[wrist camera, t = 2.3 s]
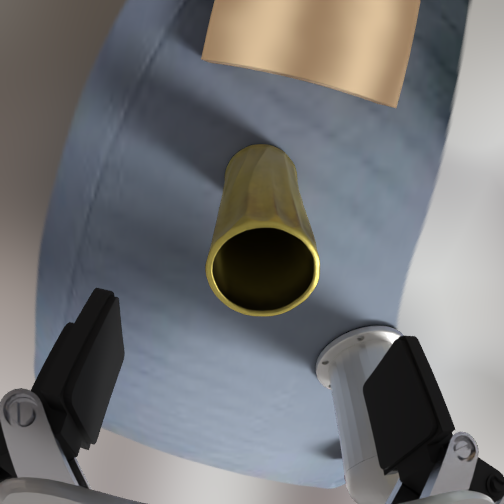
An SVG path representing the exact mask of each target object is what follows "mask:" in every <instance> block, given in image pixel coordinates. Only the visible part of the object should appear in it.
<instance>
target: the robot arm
mask: <svg viewBox="0 0 504 504" xmlns="http://www.w3.org/2000/svg"><path fill="white" fill-rule="evenodd" d="M123 360H124V344H123V336H122V327H121V317H120V307H119V298H118V297H114V293H113V292H112V291H108V290H104V289H99V288H96V289H94V291H93V292H92V294H91V296H90V297H89V299H88V301H87V302H86V304H85V306H84V307H83V309H82V311H81V313H80V314H79V316H78V318H77V320H76V321H75V323H71V322H69V323H68V324H66V326H65V327H64V328H63V330H62V332H61V334H60V336H59V337H58V339H57V341H56V343H55V344H54V346H53V348H52V350H51V352H50V354H49V356H48V357H47V359H46V361H45V363H44V365H43V367H42V369H41V371H40V373H39V375H38V377H37V379H36V381H35V383H34V385H33V387H32V389H31V391H30V390H27V389H22V388H20V389H14V390H12V391H10V392H8V393H7V394H6V395H5V396H4V397H3V398H2V400H1V402H0V504H146V503H141V502H137V501H133V500H128V499H124V498H120V497H117V496H113V495H109V494H106V493H102V492H98V491H94V490H92V489H91V487H90V485H89V484H88V481H87V480H86V478H85V476H84V474H83V472H82V470H81V468H80V466H79V464H78V461H77V459H76V457H77V456H78V453H79V449H80V447H81V448H84V449H87V450H89V447H90V444H95V443H96V441H97V438H98V435H99V432H100V429H101V425H102V422H103V419H104V416H105V413H106V410H107V407H108V404H109V401H110V398H111V395H112V392H113V389H114V386H115V383H116V380H117V377H118V374H119V371H120V369H121V366H122V363H123ZM316 374H317V378H318V380H319V382H320V383H321V384H322V385H323V386H325V387H326V388H328V389H331V390H332V396H333V402H334V408H335V414H336V420H337V426H338V432H339V439H340V445H341V452H342V459H343V466H344V473H345V480H346V486H347V490H348V492H349V494H350V496H351V497H352V499H353V500H354V501H355V502H356V503H358V504H504V477H503V475H502V474H501V473H500V472H499V471H498V470H496V469H495V468H493V467H492V466H490V465H489V464H487V463H486V462H484V461H483V460H481V459H480V458H478V452H479V451H478V445H477V443H476V441H475V440H474V438H473V437H472V436H471V435H469V434H468V433H465V432H458V433H455V434H454V435H453V434H452V432H453V431H454V430H455V427H454V425H453V422H452V419H451V417H450V414H449V411H448V409H447V406H446V404H445V401H444V399H443V396H442V393H441V391H440V389H439V386H438V384H437V381H436V379H435V377H434V374H433V372H432V369H431V367H430V365H429V363H428V361H427V358H426V356H425V354H424V352H423V349H422V347H421V345H420V343H419V341H418V339H417V338H416V337H415V336H404V335H403V334H402V333H401V332H400V331H398V330H396V329H394V328H391V327H387V326H368V327H363V328H359V329H356V330H353V331H350V332H348V333H346V334H343V335H342V336H340V337H338V338H337V339H335V340H333V341H332V342H331V343H330V344H329V345H327V346H326V347H325V349H324V350H323V351H322V352H321V353H320V355H319V357H318V359H317V362H316Z"/></svg>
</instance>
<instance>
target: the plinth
mask: <svg viewBox="0 0 504 504" xmlns="http://www.w3.org/2000/svg"><path fill="white" fill-rule="evenodd" d="M419 5H420V0H215V1H214V5H213V9H212V13H211V17H210V22H209V26H208V30H207V35H206V39H205V44H204V48H203V53H202V58H201V59H202V60H205V61H207V62H210V63H216V64H223V65H230V66H236V67H242V68H247V69H253V70H258V71H263V72H268V73H273V74H277V75H282V76H286V77H290V78H295V79H299V80H303V81H306V82H310V83H314V84H318V85H321V86H325V87H328V88H332V89H335V90H338V91H342V92H345V93H348V94H351V95H354V96H357V97H360V98H363V99H366V100H369V101H372V102H375V103H377V104H382V105H386V106H390V107H394V108H396V107H397V103H398V100H399V96H400V92H401V88H402V84H403V80H404V76H405V72H406V68H407V64H408V59H409V55H410V51H411V46H412V41H413V37H414V32H415V27H416V22H417V16H418V11H419Z"/></svg>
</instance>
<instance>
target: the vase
mask: <svg viewBox="0 0 504 504" xmlns="http://www.w3.org/2000/svg"><path fill="white" fill-rule="evenodd" d="M205 271H206V276H207V280H208V283H209V285H210V287H211V289H212V291H213V292H214V294H215V295H216V296H217V297H218V298H219V299H220V300H221V301H222V302H223V303H224V304H225V305H226V306H228V307H229V308H231V309H233V310H235V311H237V312H240V313H242V314H245V315H250V316H274V315H279V314H282V313H285V312H287V311H289V310H291V309H293V308H295V307H296V306H298V305H299V304H301V303H302V302H303V301H305V300H306V299H307V298H308V297H309V295H310V294H311V293H312V291H313V290H314V289H315V287H316V285H317V283H318V280H319V275H320V259H319V255H318V252H317V248H316V242H315V238H314V235H313V232H312V229H311V226H310V223H309V220H308V217H307V215H306V211H305V208H304V206H303V202H302V198H301V195H300V193H299V189H298V183H297V172H296V168H295V165H294V164H293V162H292V161H291V159H290V158H289V157H288V156H287V154H286V153H285V152H283V151H282V150H280V149H278V148H276V147H274V146H271V145H265V144H257V145H251V146H248V147H246V148H244V149H242V150H240V151H239V152H238V153H237V154H235V155H234V156H233V157H232V159H231V160H230V162H229V164H228V166H227V168H226V171H225V184H224V188H223V194H222V199H221V203H220V207H219V212H218V217H217V222H216V226H215V230H214V234H213V239H212V243H211V247H210V251H209V254H208V258H207V261H206V265H205Z"/></svg>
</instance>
